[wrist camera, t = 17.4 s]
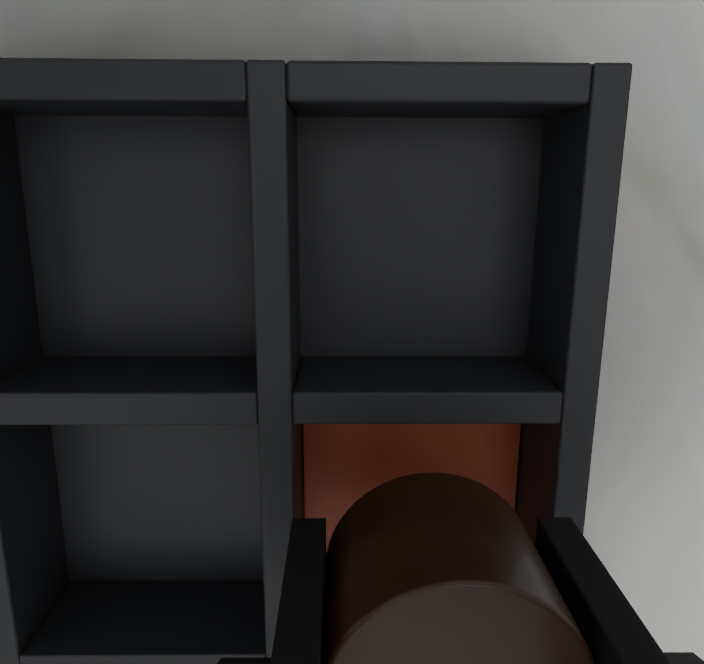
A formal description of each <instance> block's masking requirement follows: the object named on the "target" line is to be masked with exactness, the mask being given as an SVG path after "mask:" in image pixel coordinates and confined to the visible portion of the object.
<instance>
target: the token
mask: <svg viewBox="0 0 704 664" xmlns="http://www.w3.org/2000/svg"><path fill="white" fill-rule="evenodd" d="M321 664H595V661H594V658H593V655H592V653H591V651H590V649H589V647H588V644H587V642H586V640H585V639H584V637H583V635H582V633H581V631H580V629H579V627H578V625H577V623H576V622H575V620H574V618H573V616H572V614H571V612H570V610H569V608H568V607H567V605H566V603H565V601H564V599H563V597H562V595H561V593H560V592H559V590H558V588H557V586H556V584H555V582H554V580H553V578H552V576H551V575H550V573H549V571H548V569H547V567H546V565H545V563H544V561H543V560H542V558H541V556H540V554H539V552H538V550H537V548H536V546H535V545H534V543H533V541H532V539H531V537H530V535H529V533H528V531H527V529H526V528H525V526H524V524H523V522H522V520H521V519H520V517H519V516H518V514H517V513H516V511H515V510H514V509H513V508H512V507H511V505H510V504H509V503H508V502H507V501H506V500H505V499H504V498H502V497H501V496H500V495H499V494H498V493H496V492H495V491H493V490H492V489H490V488H488V487H487V486H485V485H483V484H481V483H479V482H477V481H474V480H472V479H469V478H466V477H462V476H459V475H454V474H448V473H436V472H428V473H416V474H411V475H405V476H402V477H398V478H395V479H392V480H390V481H387V482H385V483H383V484H381V485H379V486H377V487H375V488H374V489H372V490H370V491H369V492H367V493H366V494H365V495H363V496H362V497H361V498H360V499H358V500H357V501H356V502H355V503H354V504H353V505H352V506H351V507H350V508H349V509H348V510H347V511H346V513H345V514H344V515H343V517H342V518H341V519H340V521H339V522H338V524H337V526H336V528H335V530H334V531H333V533H332V536H331V539H330V541H329V544H328V549H327V553H326V574H325V596H324V618H323V640H322V662H321Z"/></svg>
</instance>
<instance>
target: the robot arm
mask: <svg viewBox="0 0 704 664" xmlns="http://www.w3.org/2000/svg"><path fill="white" fill-rule="evenodd" d="M535 546H536V548H537V550H538V552H539V554H540V556H541V558H542V560H543V561H544V563H545V565H546V567H547V569H548V571H549V573H550V575H551V576H552V578H553V580H554V582H555V584H556V586H557V588H558V590H559V592H560V593H561V595H562V597H563V599H564V601H565V603H566V605H567V607H568V608H569V610H570V612H571V614H572V616H573V618H574V620H575V622H576V623H577V625H578V627H579V629H580V631H581V633H582V635H583V637H584V639H585V640H586V642H587V644H588V647H589V649H590V651H591V653H592V655H593V658H594V661H595V664H704V661H703V660H701V659H700V658H699V657H698V656H696V655H695V654H694V653H692V652H691V653H663V652H662V650H661V649H660V647H659V646H658V645H657V643H656V642H655V640H654V639H653V637H652V636H651V634H650V633H649V631H648V630H647V628H646V627H645V625H644V624H643V623H642V621H641V620H640V618H639V617H638V615H637V614H636V612H635V611H634V609H633V608H632V606H631V605H630V603H629V602H628V601H627V599H626V598H625V596H624V595H623V593H622V592H621V590H620V589H619V587H618V586H617V584H616V583H615V581H614V580H613V579H612V577H611V576H610V574H609V573H608V571H607V570H606V568H605V567H604V565H603V564H602V562H601V561H600V559H599V558H598V557H597V555H596V554H595V552H594V551H593V549H592V548H591V546H590V545H589V543H588V542H587V540H586V539H585V537H584V536H583V535H582V533H581V532H580V530H579V529H578V527H577V526H576V524H575V523H574V521H573V520H572V518H571V517H537V527H536V539H535ZM325 574H326V518H292V523H291V530H290V536H289V543H288V550H287V556H286V563H285V570H284V576H283V583H282V589H281V596H280V603H279V609H278V616H277V623H276V629H275V636H274V642H273V649H272V656H271V657H257V658H221V659H220V660H219V661H218V663H217V664H321V662H322V640H323V618H324V596H325Z"/></svg>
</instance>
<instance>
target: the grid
mask: <svg viewBox="0 0 704 664" xmlns="http://www.w3.org/2000/svg"><path fill="white" fill-rule="evenodd" d="M631 72H632V64H631V63H594V64H589V63H536V62H413V61H288V62H287V64H286V62H285V61H283V60H248V61H247V62H245V61H244V60H188V59H65V58H0V664H217V663H218V661H219V660H220V659H221V658H257V657H271V656H272V649H273V642H274V636H275V629H276V623H277V616H278V609H279V603H280V596H281V589H282V583H283V576H284V570H285V563H286V556H287V550H288V543H289V536H290V530H291V523H292V518H326V553H327V549H328V544H329V541H330V539H331V536H332V533H333V531H334V530H335V528H336V526H337V524H338V522H339V521H340V519H341V518H342V517H343V515H344V514H345V513H346V511H347V510H348V509H349V508H350V507H351V506H352V505H353V504H354V503H355V502H356V501H357V500H358V499H360V498H361V497H362V496H363V495H365V494H366V493H367V492H369V491H370V490H372V489H374V488H375V487H377V486H379V485H381V484H383V483H385V482H387V481H390V480H392V479H395V478H398V477H402V476H405V475H411V474H416V473H428V472H436V473H448V474H454V475H459V476H462V477H466V478H469V479H472V480H474V481H477V482H479V483H481V484H483V485H485V486H487V487H488V488H490V489H492V490H493V491H495V492H496V493H498V494H499V495H500V496H501V497H502V498H504V499H505V500H506V501H507V502H508V503H509V504H510V505H511V507H512V508H513V509H514V510H515V511H516V513H517V514H518V516H519V517H520V519H521V520H522V522H523V524H524V526H525V528H526V529H527V531H528V533H529V535H530V537H531V539H532V541H533V543H534V545H535V539H536V527H537V517H571V518H572V520H573V521H574V523H575V524H576V526H577V527H578V529H579V530H580V532H581V533H582V535H583V529H584V519H585V510H586V500H587V491H588V481H589V472H590V462H591V453H592V443H593V434H594V424H595V414H596V405H597V395H598V386H599V376H600V367H601V357H602V348H603V338H604V329H605V319H606V310H607V300H608V291H609V281H610V272H611V262H612V253H613V243H614V234H615V224H616V215H617V205H618V196H619V186H620V177H621V167H622V158H623V148H624V139H625V129H626V120H627V110H628V100H629V91H630V81H631Z"/></svg>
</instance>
